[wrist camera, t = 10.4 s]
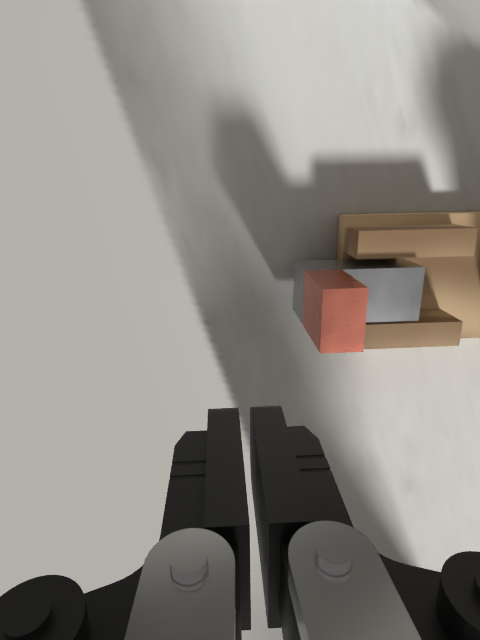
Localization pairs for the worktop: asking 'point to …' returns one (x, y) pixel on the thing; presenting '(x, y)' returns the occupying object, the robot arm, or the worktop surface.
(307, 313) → the red grey l-shaped block
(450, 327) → the light brown wooden holder
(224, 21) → the worktop surface
